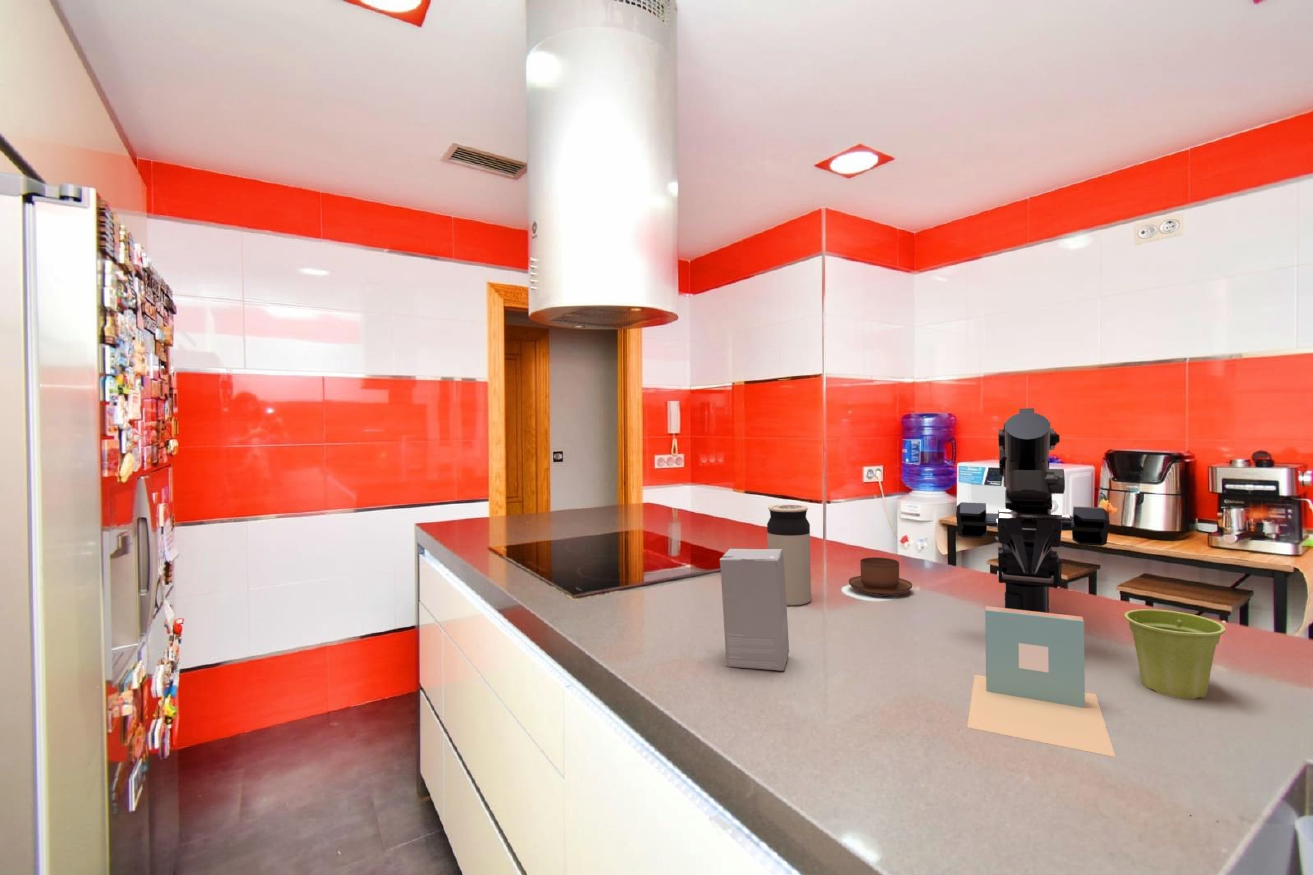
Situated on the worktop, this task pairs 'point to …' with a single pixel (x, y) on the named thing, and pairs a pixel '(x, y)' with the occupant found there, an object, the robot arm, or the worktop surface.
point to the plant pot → (1174, 650)
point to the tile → (1035, 655)
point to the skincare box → (754, 608)
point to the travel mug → (792, 549)
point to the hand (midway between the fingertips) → (1030, 572)
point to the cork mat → (1040, 720)
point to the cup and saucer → (880, 577)
